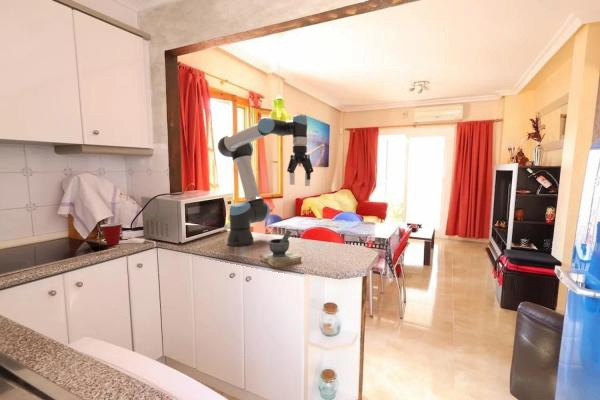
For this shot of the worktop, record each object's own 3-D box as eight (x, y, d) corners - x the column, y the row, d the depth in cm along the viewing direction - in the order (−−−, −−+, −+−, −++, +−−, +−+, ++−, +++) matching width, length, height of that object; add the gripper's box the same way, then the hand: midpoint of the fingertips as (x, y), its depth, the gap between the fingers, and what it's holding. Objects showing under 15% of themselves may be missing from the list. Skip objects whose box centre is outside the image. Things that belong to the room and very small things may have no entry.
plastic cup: (117, 241, 174) (115, 221, 173) (127, 243, 169) (126, 222, 168) (97, 245, 165) (95, 224, 163) (108, 247, 160) (106, 226, 158)
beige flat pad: (260, 259, 141) (260, 254, 141) (284, 254, 150) (284, 249, 149) (276, 267, 130) (276, 261, 130) (301, 261, 139) (301, 256, 138)
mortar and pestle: (272, 259, 133) (272, 233, 132) (266, 253, 141) (265, 229, 140) (295, 256, 138) (295, 231, 137) (287, 251, 146) (287, 227, 145)
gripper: (281, 146, 164) (281, 184, 166) (309, 143, 144) (308, 186, 147) (291, 147, 169) (291, 183, 171) (320, 144, 149) (319, 186, 151)
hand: (299, 185), depth 159 cm, fingers open, 13 cm apart
